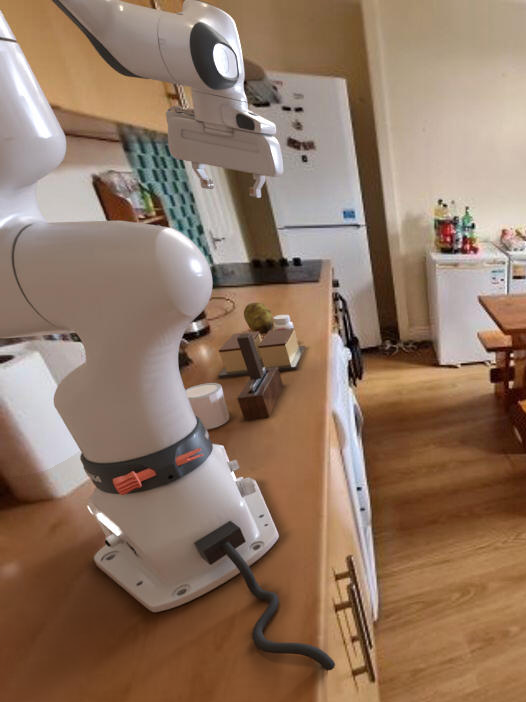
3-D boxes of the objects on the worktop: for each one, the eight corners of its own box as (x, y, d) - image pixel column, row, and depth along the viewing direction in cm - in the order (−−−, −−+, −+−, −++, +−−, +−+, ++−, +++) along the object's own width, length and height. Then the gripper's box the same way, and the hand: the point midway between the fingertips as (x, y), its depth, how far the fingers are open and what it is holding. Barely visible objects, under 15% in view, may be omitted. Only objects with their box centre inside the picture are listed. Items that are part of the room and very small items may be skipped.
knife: (265, 412, 84) (242, 344, 78) (254, 414, 84) (230, 345, 77) (275, 391, 93) (256, 327, 86) (266, 392, 92) (245, 328, 86)
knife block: (269, 416, 83) (262, 394, 81) (244, 420, 82) (236, 398, 80) (283, 386, 95) (277, 366, 93) (262, 389, 94) (255, 369, 92)
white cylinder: (213, 433, 78) (199, 400, 75) (182, 429, 79) (168, 397, 76) (241, 414, 84) (230, 383, 81) (212, 411, 85) (200, 381, 82)
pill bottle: (281, 349, 116) (273, 320, 112) (277, 344, 119) (269, 316, 115) (300, 345, 118) (292, 316, 114) (295, 340, 121) (288, 313, 118)
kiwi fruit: (244, 338, 124) (236, 312, 120) (249, 326, 134) (242, 301, 131) (275, 334, 127) (268, 309, 123) (278, 322, 137) (271, 298, 134)
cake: (296, 369, 103) (289, 344, 100) (219, 378, 99) (209, 353, 96) (305, 348, 116) (299, 325, 113) (237, 355, 112) (229, 332, 109)
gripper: (152, 101, 76) (167, 183, 82) (268, 124, 78) (274, 203, 84) (175, 105, 81) (188, 182, 88) (284, 127, 83) (289, 200, 90)
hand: (231, 192), depth 86 cm, fingers open, 8 cm apart
